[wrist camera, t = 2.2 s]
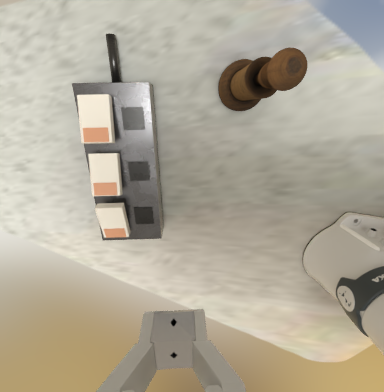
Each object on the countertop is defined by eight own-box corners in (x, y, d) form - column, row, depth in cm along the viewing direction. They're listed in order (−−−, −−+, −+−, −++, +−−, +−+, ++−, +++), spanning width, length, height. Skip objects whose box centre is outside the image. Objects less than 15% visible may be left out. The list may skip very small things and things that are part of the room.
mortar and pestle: (213, 70, 32) (243, 30, 16) (256, 55, 32) (335, -2, 15) (224, 116, 35) (260, 124, 18) (264, 103, 34) (339, 99, 18)
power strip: (149, 36, 31) (143, 24, 26) (163, 226, 42) (160, 240, 37) (76, 37, 31) (57, 25, 26) (110, 228, 42) (101, 242, 37)
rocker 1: (111, 96, 29) (108, 93, 28) (115, 143, 30) (111, 142, 29) (81, 97, 29) (76, 94, 28) (85, 143, 30) (81, 143, 29)
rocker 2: (123, 202, 34) (121, 208, 33) (130, 231, 37) (128, 237, 36) (97, 203, 34) (94, 209, 32) (106, 232, 37) (104, 238, 36)
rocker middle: (119, 153, 32) (116, 153, 31) (122, 194, 33) (119, 195, 32) (91, 154, 32) (87, 153, 31) (95, 195, 33) (91, 196, 32)
